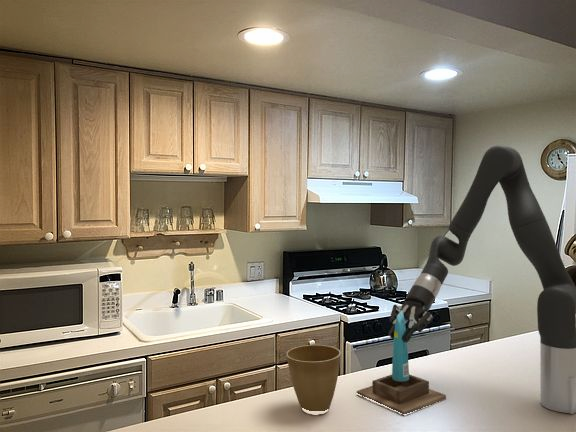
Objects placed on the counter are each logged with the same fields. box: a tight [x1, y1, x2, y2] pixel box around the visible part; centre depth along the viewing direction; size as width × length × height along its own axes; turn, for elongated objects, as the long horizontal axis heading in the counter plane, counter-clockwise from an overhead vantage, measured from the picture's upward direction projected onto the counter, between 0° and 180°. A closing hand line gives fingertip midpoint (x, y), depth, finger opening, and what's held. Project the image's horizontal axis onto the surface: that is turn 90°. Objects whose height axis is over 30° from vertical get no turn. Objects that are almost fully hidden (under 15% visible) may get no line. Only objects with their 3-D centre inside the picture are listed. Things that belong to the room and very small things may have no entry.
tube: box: [391, 311, 410, 382], centre depth 140 cm, size 7×5×19 cm, turn 160°
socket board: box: [356, 373, 447, 414], centre depth 140 cm, size 18×18×5 cm
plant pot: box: [286, 344, 342, 411], centre depth 132 cm, size 15×15×16 cm
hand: (397, 338), depth 139 cm, fingers closed on tube, 4 cm apart
